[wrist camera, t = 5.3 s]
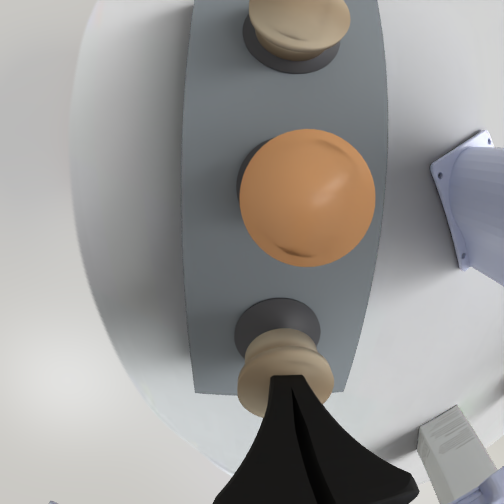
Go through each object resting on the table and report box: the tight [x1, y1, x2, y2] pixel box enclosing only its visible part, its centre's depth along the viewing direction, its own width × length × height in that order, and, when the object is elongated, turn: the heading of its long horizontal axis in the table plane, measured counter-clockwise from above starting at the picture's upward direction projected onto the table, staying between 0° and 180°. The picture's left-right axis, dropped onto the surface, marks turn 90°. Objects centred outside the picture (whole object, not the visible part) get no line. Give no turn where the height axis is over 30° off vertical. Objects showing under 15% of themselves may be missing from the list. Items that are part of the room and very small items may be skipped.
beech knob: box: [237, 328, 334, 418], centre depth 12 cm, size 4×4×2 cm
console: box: [181, 0, 388, 395], centre depth 14 cm, size 26×10×4 cm, turn 178°
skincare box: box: [417, 405, 498, 504], centre depth 18 cm, size 8×7×16 cm
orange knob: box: [240, 129, 375, 267], centre depth 9 cm, size 4×4×2 cm
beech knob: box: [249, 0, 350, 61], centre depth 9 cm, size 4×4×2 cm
